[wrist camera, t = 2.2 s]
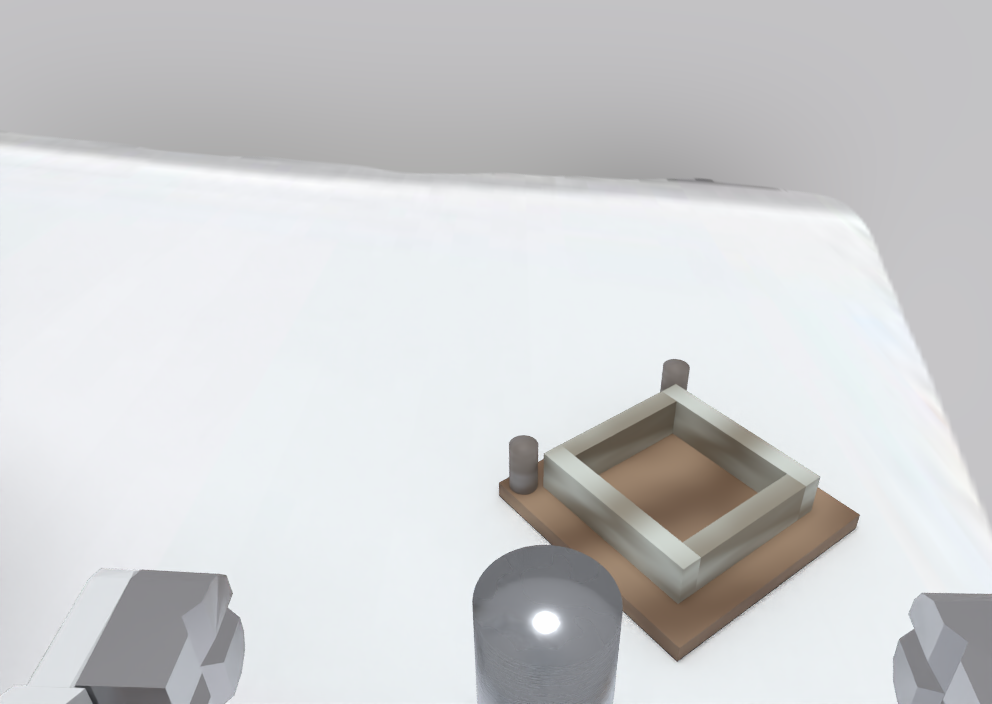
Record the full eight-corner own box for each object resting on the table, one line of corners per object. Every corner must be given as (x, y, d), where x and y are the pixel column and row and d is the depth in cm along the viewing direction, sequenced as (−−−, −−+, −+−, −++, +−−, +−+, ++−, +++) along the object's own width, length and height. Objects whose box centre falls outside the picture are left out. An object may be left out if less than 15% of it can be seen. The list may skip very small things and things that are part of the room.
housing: (499, 495, 50) (498, 442, 48) (669, 403, 57) (675, 353, 54) (677, 661, 41) (686, 605, 38) (855, 527, 47) (872, 473, 45)
